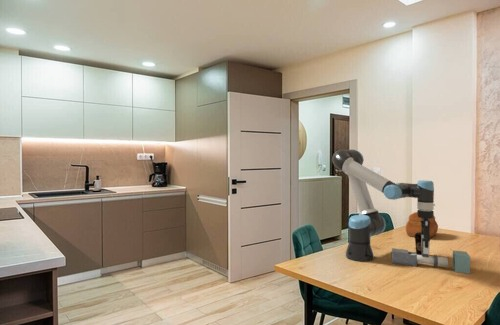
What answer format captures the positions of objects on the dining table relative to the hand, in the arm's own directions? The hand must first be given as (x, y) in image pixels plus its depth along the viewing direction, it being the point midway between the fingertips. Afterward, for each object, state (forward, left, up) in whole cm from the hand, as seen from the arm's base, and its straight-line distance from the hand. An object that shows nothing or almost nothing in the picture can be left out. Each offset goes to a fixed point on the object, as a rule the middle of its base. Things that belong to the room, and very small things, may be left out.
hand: (425, 250), depth 169 cm
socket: (+16, 0, -8) cm, 18 cm away
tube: (-3, 0, -8) cm, 9 cm away
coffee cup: (0, +19, -8) cm, 21 cm away
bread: (+3, +73, -8) cm, 74 cm away
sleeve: (-10, 0, -8) cm, 13 cm away
